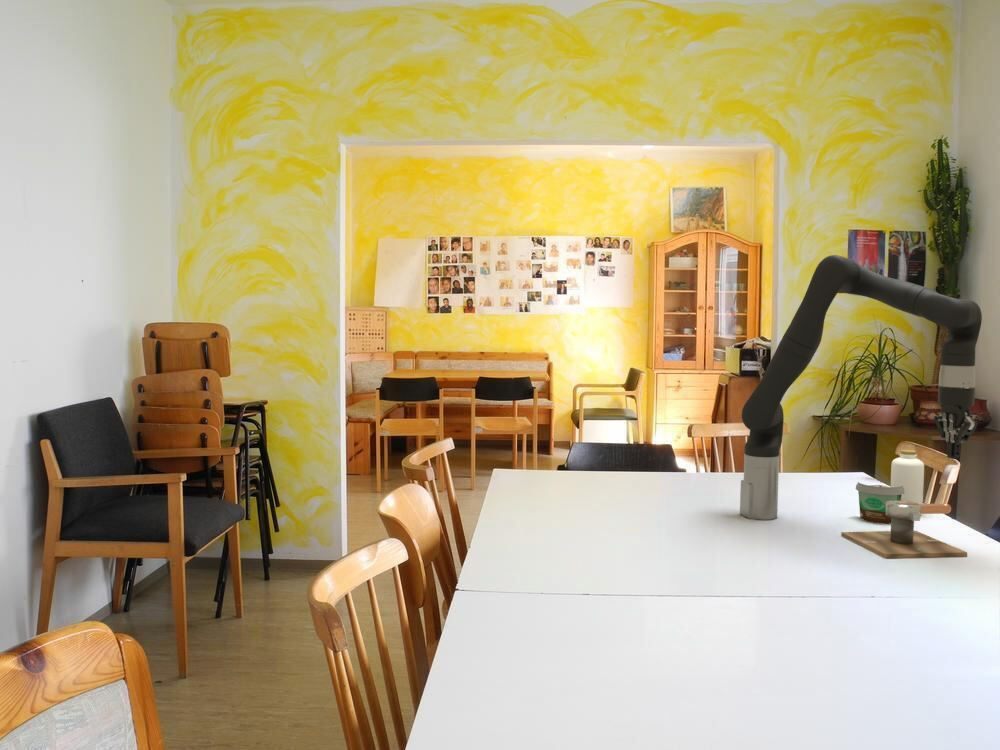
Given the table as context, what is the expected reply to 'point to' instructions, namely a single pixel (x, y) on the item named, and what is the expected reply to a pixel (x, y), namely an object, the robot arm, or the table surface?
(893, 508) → the collar
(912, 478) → the potion bottle
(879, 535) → the post base
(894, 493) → the food container
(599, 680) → the table surface
